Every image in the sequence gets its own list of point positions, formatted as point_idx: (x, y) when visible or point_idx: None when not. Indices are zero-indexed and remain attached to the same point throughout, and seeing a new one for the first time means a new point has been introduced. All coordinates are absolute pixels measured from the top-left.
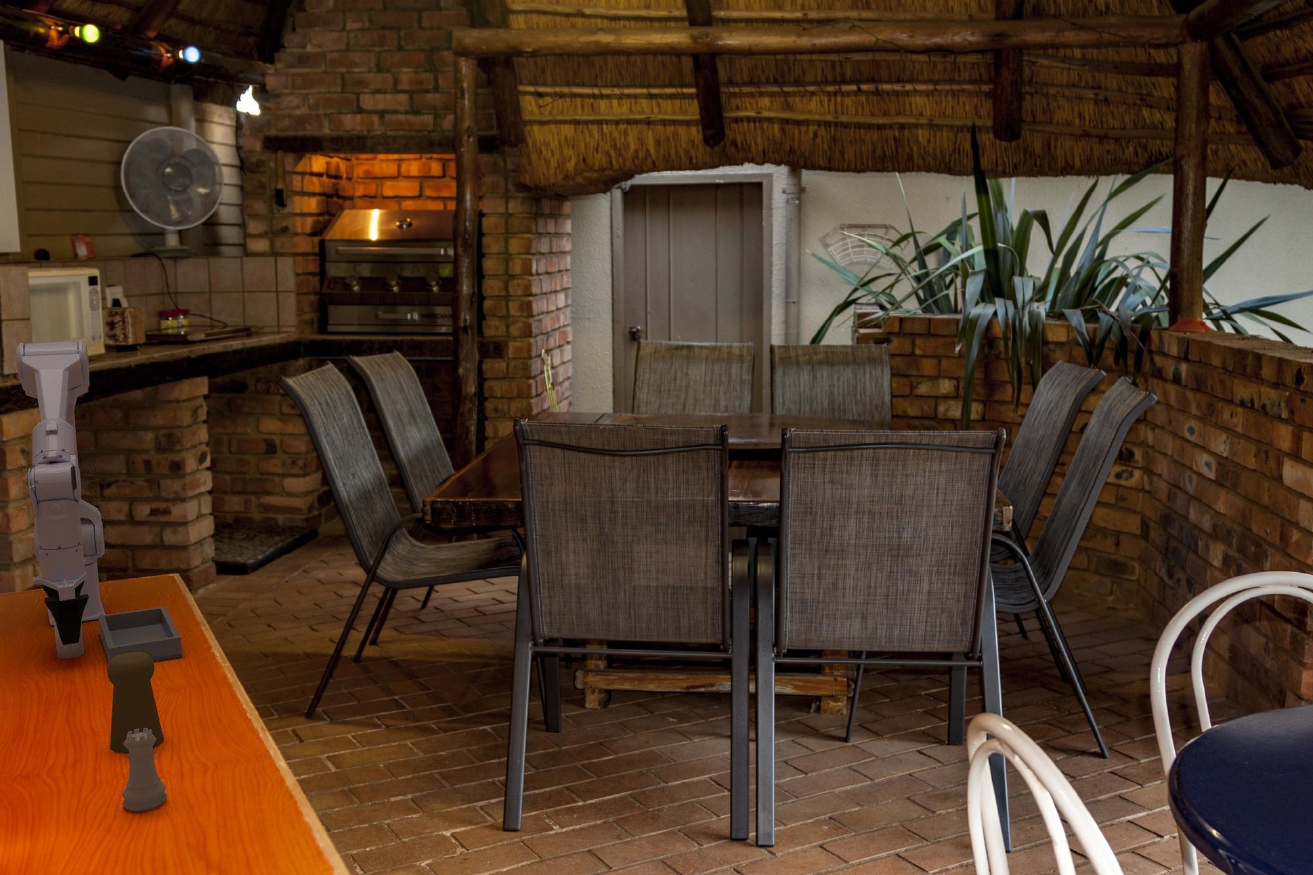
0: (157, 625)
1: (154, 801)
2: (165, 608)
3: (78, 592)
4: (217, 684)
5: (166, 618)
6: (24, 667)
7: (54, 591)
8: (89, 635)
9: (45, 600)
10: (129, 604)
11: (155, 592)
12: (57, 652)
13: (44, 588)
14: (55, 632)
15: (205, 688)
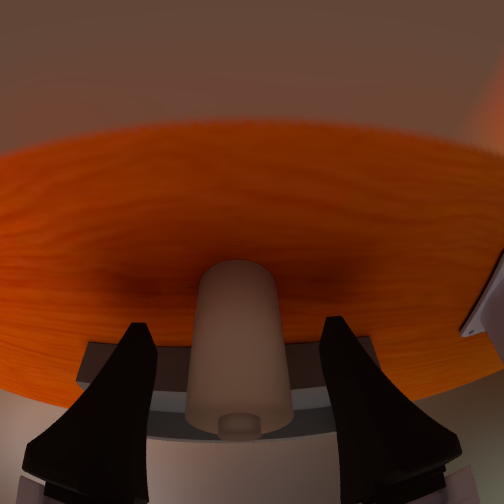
0: (323, 404)
1: None
2: (329, 434)
3: (341, 466)
4: (33, 395)
5: (259, 440)
6: (154, 167)
7: (371, 462)
8: (384, 319)
9: (30, 473)
10: (486, 347)
11: (494, 362)
12: (224, 272)
13: (395, 470)
14: (221, 329)
15: (21, 386)
